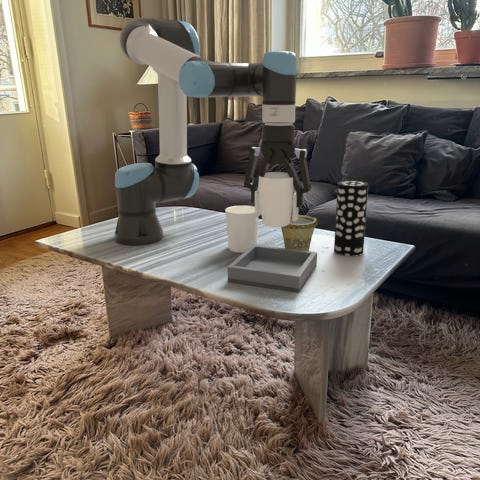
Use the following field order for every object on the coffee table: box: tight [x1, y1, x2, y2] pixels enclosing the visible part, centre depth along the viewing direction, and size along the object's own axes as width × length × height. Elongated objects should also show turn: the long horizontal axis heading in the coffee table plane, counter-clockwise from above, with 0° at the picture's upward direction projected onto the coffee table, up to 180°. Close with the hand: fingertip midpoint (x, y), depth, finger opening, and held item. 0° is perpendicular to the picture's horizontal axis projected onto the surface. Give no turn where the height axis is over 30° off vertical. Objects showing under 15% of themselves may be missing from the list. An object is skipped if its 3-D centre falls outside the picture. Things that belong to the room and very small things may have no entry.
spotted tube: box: [333, 180, 369, 257], centre depth 129 cm, size 8×8×20 cm
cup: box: [258, 171, 296, 228], centre depth 111 cm, size 9×9×12 cm
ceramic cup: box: [280, 214, 318, 251], centre depth 131 cm, size 13×10×10 cm
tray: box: [227, 244, 318, 293], centre depth 116 cm, size 18×18×4 cm
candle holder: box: [224, 205, 259, 254], centre depth 134 cm, size 10×10×12 cm
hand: (276, 217), depth 112 cm, fingers closed on cup, 9 cm apart
